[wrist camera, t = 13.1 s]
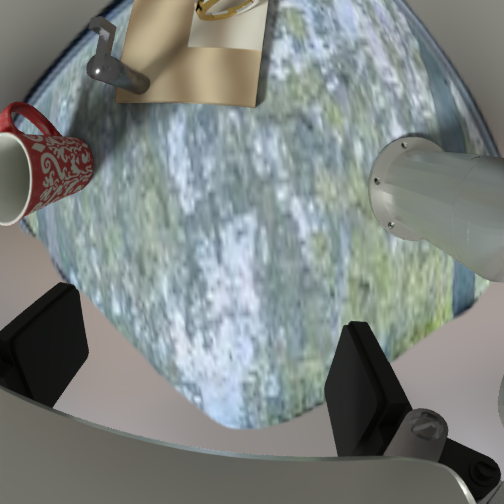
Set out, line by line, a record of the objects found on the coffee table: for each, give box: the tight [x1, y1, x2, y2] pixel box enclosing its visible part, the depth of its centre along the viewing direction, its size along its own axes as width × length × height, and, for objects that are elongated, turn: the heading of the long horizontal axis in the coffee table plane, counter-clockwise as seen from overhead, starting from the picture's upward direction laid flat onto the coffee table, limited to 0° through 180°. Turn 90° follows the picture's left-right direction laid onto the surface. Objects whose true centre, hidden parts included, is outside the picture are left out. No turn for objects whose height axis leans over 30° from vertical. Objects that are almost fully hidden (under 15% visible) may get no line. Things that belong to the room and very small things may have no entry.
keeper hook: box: [87, 16, 150, 95], centre depth 23 cm, size 2×5×12 cm, turn 174°
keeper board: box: [115, 0, 269, 108], centre depth 28 cm, size 16×18×2 cm
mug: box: [0, 102, 94, 226], centre depth 27 cm, size 13×9×14 cm
